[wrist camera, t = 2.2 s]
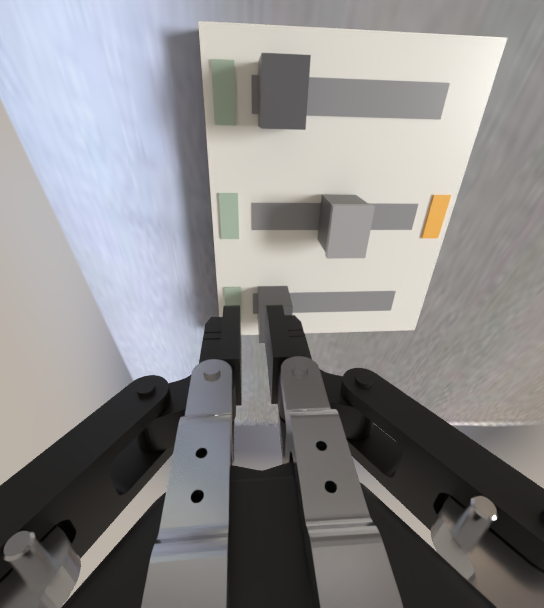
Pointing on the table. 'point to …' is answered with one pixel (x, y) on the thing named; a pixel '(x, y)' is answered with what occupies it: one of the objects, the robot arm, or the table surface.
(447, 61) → the breaker panel
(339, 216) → the block
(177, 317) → the table surface
